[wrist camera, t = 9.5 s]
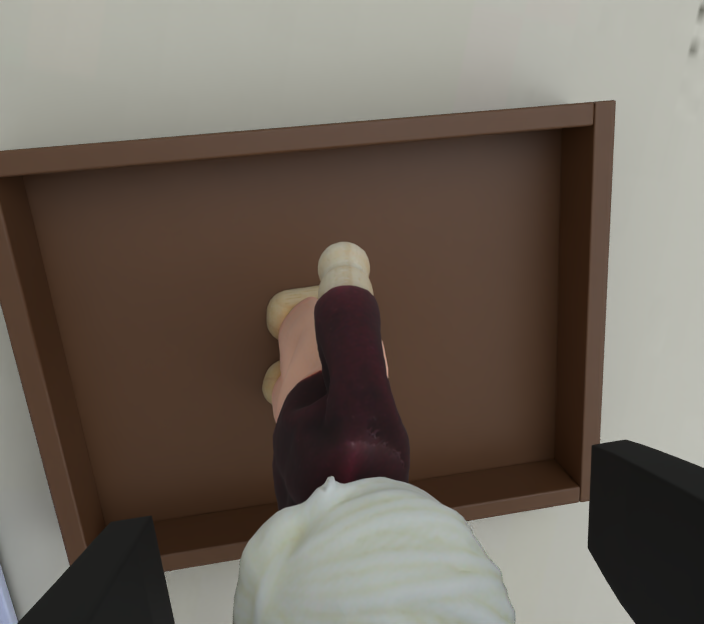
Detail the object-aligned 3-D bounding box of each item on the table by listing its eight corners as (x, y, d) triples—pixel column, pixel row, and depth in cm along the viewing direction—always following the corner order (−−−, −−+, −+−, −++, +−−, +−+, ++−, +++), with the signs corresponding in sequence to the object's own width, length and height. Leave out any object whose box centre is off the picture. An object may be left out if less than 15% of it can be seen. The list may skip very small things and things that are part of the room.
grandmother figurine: (380, 442, 19) (577, 936, 7) (261, 456, 19) (266, 1013, 7) (368, 204, 17) (623, 357, 5) (234, 214, 17) (170, 411, 5)
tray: (95, 537, 19) (74, 587, 17) (0, 151, 16) (-41, 154, 14) (563, 462, 21) (597, 500, 19) (572, 104, 18) (616, 99, 16)
